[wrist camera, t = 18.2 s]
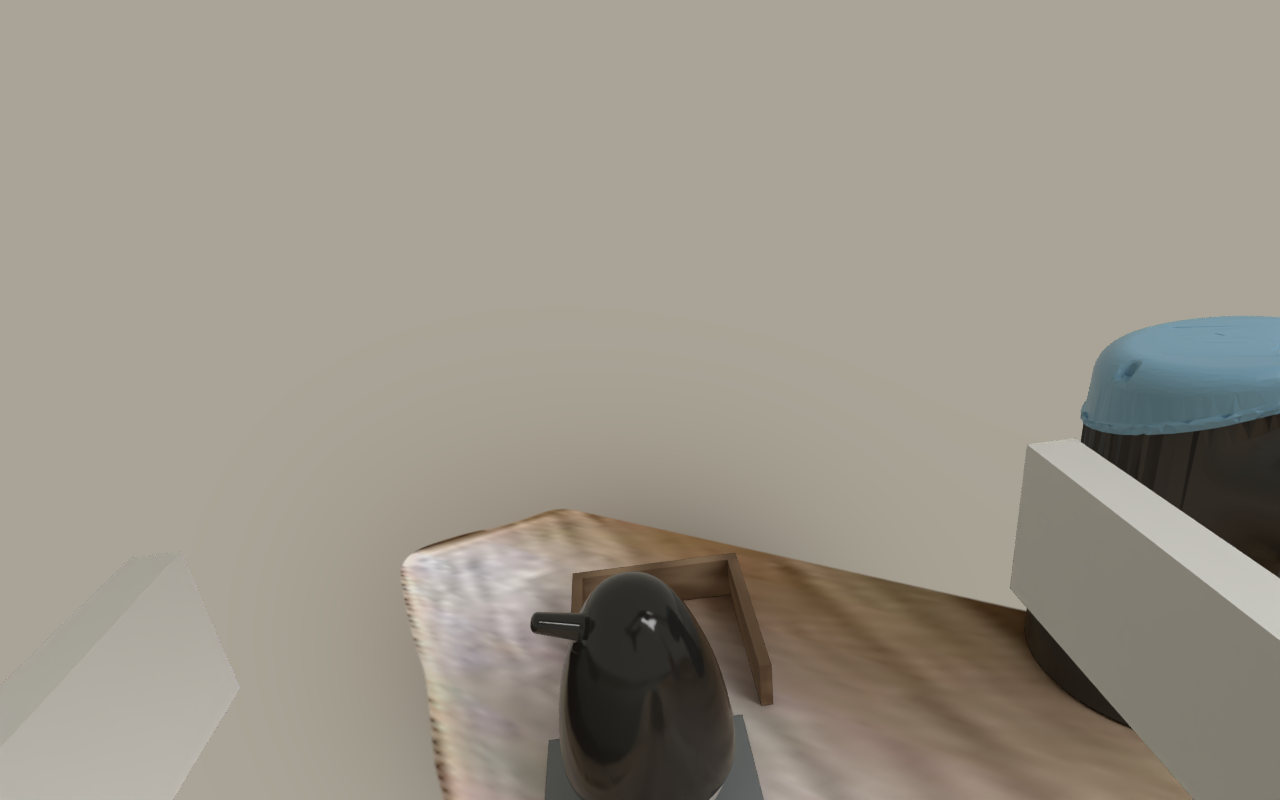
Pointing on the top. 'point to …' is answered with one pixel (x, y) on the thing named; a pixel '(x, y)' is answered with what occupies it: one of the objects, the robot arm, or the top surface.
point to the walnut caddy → (700, 582)
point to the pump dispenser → (640, 696)
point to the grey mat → (736, 796)
